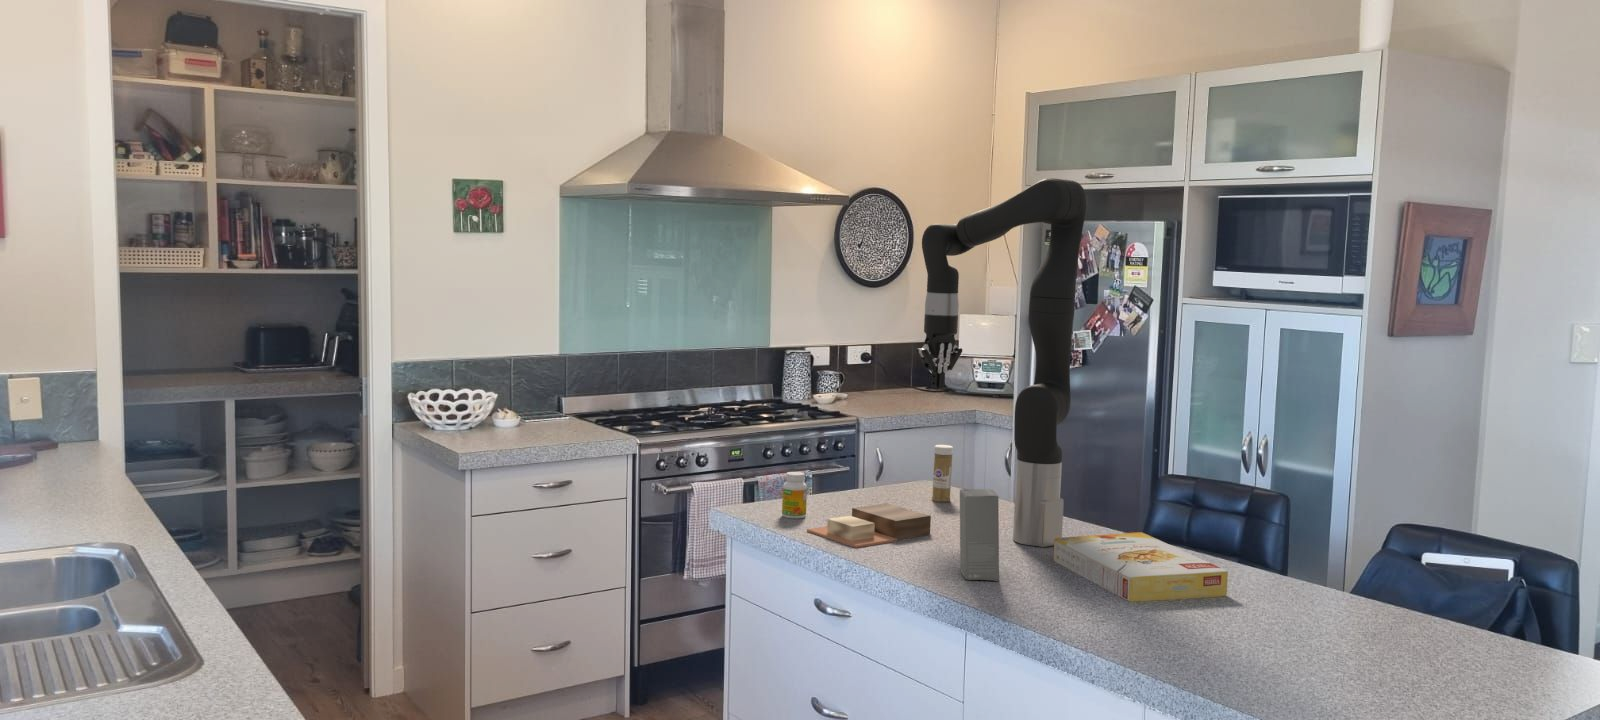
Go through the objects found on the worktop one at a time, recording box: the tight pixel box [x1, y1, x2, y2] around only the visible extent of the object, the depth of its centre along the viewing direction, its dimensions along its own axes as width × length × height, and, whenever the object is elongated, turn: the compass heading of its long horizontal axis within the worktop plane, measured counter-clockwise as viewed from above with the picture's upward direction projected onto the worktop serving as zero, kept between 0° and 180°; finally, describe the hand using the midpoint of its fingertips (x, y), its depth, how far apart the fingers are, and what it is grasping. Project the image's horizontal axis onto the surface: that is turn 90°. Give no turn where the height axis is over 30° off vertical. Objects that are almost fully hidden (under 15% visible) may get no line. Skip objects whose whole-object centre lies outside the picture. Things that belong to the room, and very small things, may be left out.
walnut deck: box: [851, 502, 932, 540], centre depth 253 cm, size 14×10×4 cm
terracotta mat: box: [806, 525, 897, 549], centre depth 246 cm, size 16×11×1 cm
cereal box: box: [1052, 531, 1229, 603], centre depth 221 cm, size 20×6×28 cm
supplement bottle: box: [781, 471, 808, 520], centre depth 263 cm, size 5×5×10 cm
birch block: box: [827, 515, 875, 541], centre depth 245 cm, size 8×6×3 cm
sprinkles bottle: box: [931, 444, 954, 503], centre depth 285 cm, size 5×5×14 cm
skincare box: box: [959, 488, 1000, 582], centre depth 219 cm, size 8×7×16 cm
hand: (937, 389), depth 268 cm, fingers closed
